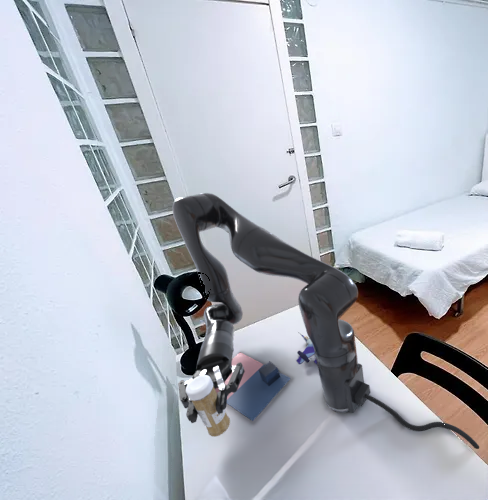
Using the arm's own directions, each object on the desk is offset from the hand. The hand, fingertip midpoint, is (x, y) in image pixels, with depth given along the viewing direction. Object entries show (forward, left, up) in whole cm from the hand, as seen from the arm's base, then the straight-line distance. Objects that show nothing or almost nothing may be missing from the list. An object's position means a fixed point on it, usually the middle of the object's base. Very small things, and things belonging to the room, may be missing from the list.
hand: (205, 415), depth 54 cm
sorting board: (+10, -14, -12) cm, 21 cm away
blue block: (+4, -18, -11) cm, 21 cm away
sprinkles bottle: (+2, -2, -8) cm, 8 cm away
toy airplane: (-1, -31, -12) cm, 33 cm away
